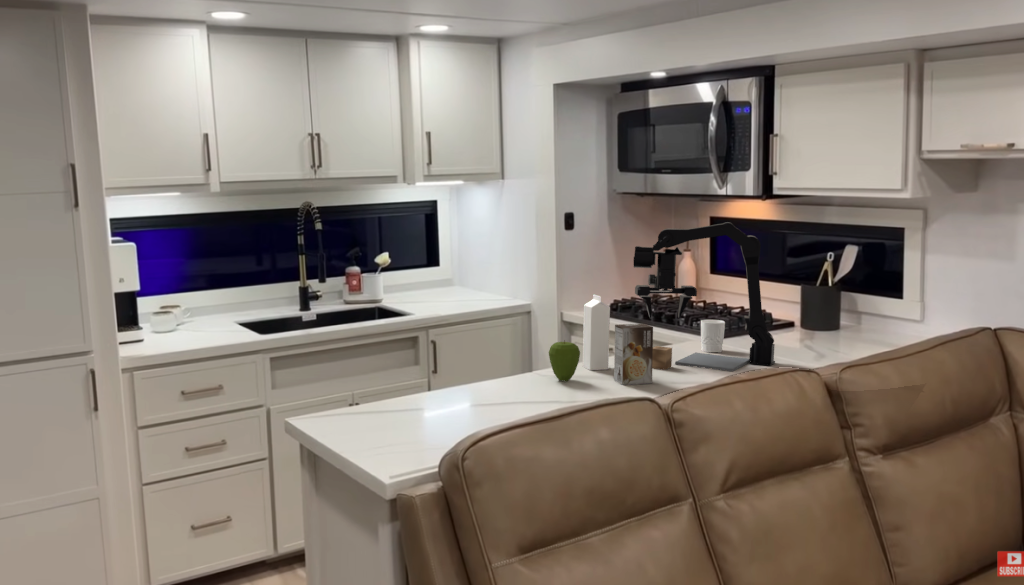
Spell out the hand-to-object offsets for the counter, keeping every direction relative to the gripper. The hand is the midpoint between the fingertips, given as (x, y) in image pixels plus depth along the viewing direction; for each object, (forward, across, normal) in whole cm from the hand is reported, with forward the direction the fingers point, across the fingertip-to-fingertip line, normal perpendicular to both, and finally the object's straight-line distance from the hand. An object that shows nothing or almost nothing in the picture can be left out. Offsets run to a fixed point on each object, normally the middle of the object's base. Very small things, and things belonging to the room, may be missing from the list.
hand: (664, 317), depth 277 cm
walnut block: (+13, +4, +14) cm, 20 cm away
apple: (+13, +34, +33) cm, 49 cm away
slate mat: (+13, -14, +7) cm, 21 cm away
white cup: (+13, -19, -13) cm, 26 cm away
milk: (+13, +24, +16) cm, 31 cm away
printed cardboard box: (+13, +15, +34) cm, 40 cm away
